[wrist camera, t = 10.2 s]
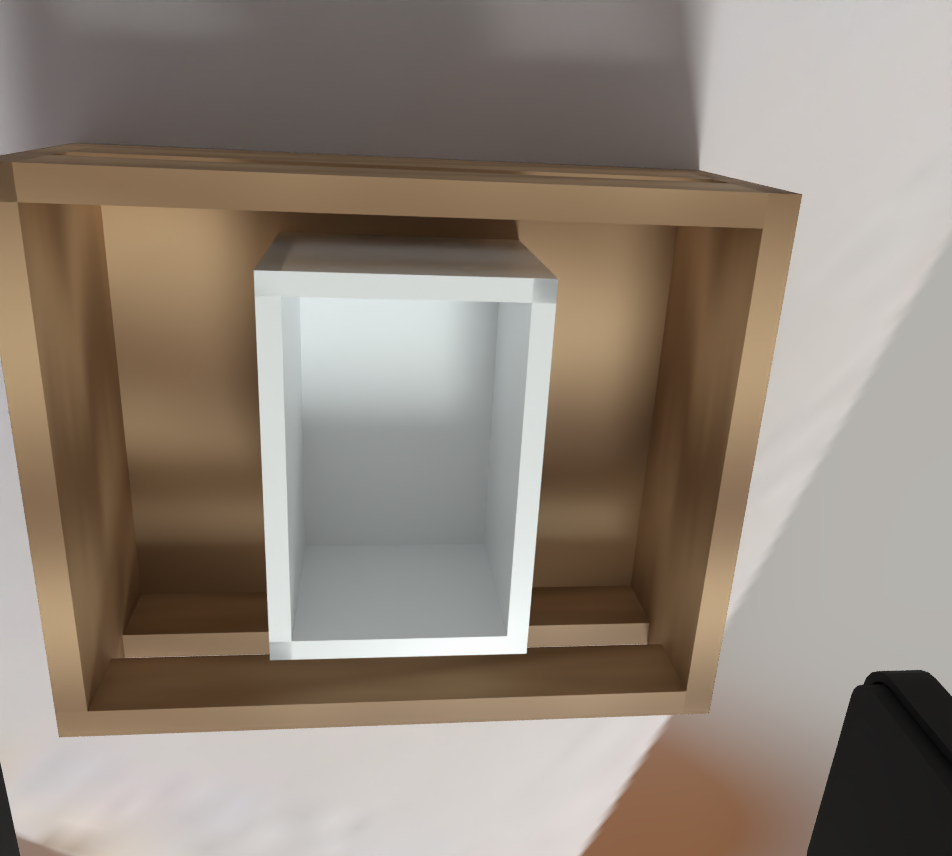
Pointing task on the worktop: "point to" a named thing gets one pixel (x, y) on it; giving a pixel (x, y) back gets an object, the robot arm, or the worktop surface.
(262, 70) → the worktop surface
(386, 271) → the small crate
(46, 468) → the oak crate
